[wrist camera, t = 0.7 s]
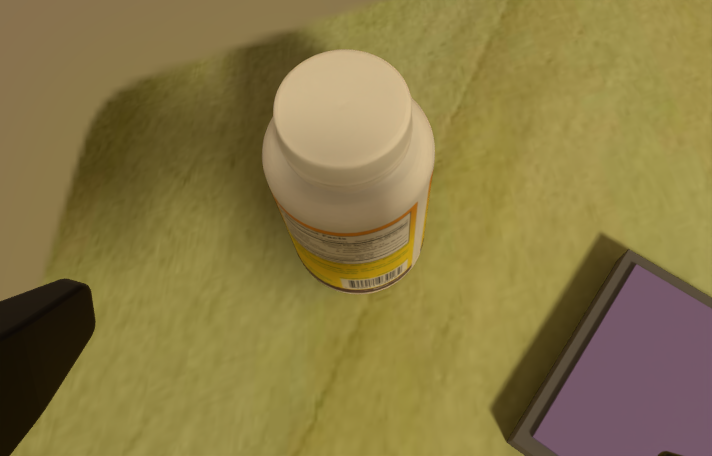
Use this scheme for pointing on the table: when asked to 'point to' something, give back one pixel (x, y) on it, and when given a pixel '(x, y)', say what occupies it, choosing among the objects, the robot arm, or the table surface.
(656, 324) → the ink pad
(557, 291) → the table surface
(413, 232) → the supplement bottle
